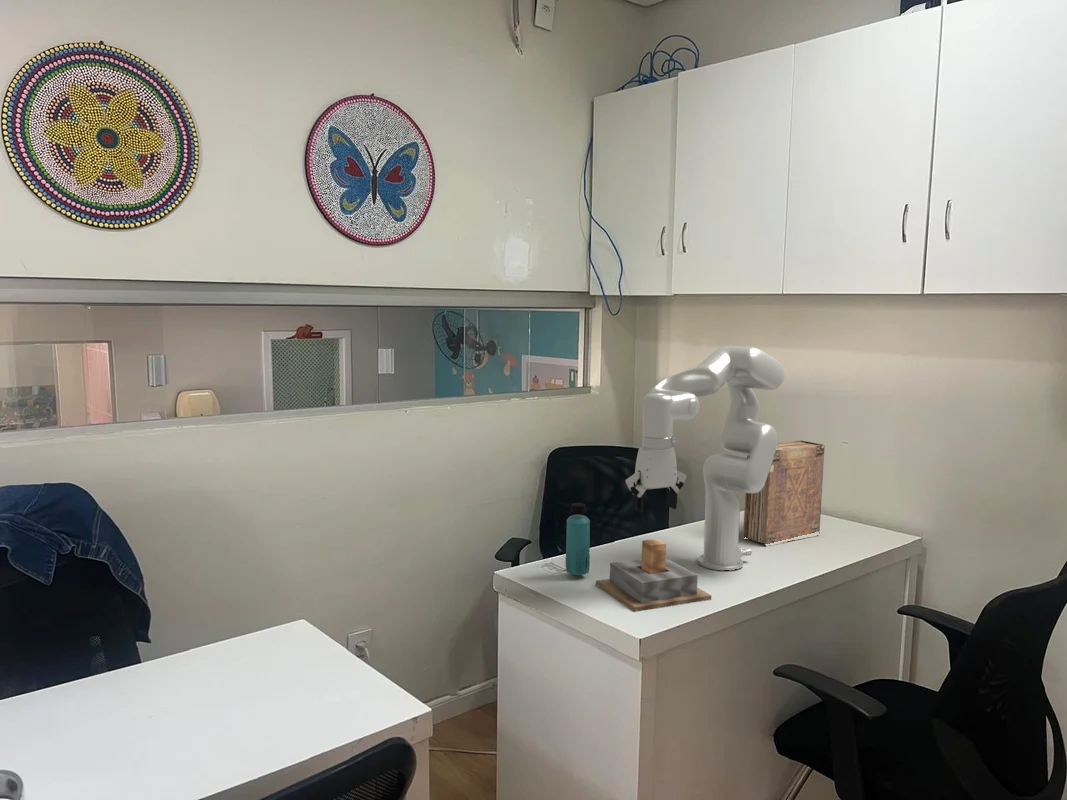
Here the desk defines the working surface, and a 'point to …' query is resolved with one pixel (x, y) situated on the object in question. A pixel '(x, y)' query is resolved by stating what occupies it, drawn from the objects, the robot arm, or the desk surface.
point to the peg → (653, 556)
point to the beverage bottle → (578, 541)
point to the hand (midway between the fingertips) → (655, 509)
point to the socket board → (651, 585)
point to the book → (787, 495)
